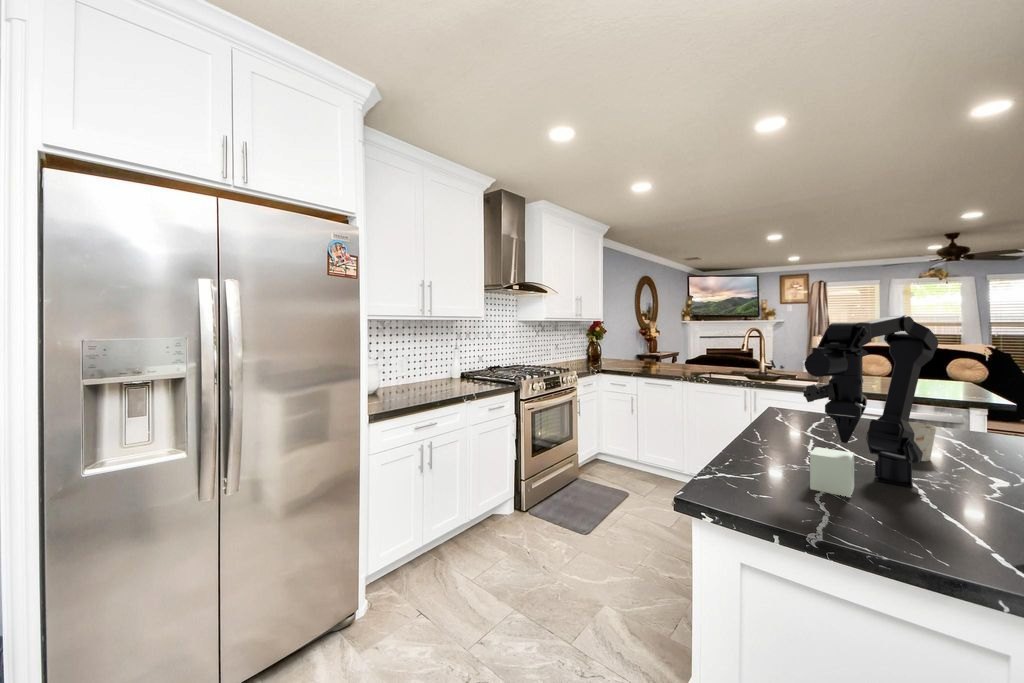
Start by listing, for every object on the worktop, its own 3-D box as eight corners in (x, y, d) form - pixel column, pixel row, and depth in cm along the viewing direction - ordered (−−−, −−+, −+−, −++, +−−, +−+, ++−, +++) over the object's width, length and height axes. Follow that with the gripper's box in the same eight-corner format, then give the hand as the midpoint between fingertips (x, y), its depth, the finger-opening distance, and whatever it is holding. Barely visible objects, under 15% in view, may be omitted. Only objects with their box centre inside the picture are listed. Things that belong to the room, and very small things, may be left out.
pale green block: (854, 487, 99) (854, 452, 99) (850, 497, 94) (850, 460, 93) (815, 480, 105) (815, 446, 104) (810, 489, 99) (810, 453, 99)
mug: (944, 463, 114) (944, 428, 114) (892, 461, 117) (892, 427, 116) (920, 454, 122) (920, 422, 122) (873, 452, 125) (873, 421, 125)
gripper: (812, 369, 108) (812, 426, 109) (798, 376, 95) (798, 440, 96) (867, 371, 101) (866, 433, 101) (859, 379, 87) (859, 450, 88)
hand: (846, 438), depth 97 cm, fingers open, 9 cm apart
